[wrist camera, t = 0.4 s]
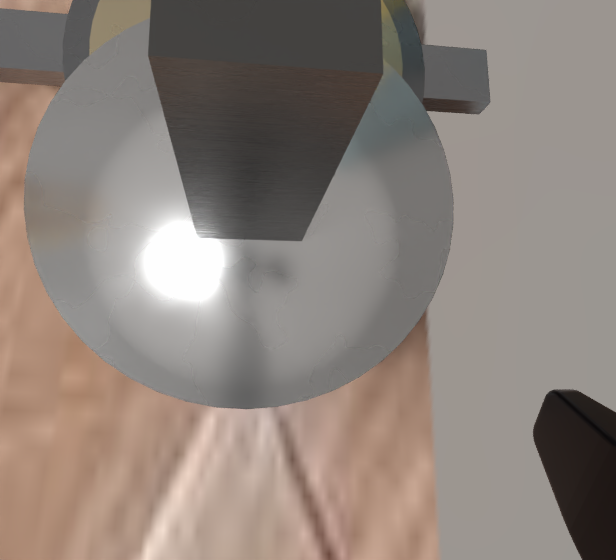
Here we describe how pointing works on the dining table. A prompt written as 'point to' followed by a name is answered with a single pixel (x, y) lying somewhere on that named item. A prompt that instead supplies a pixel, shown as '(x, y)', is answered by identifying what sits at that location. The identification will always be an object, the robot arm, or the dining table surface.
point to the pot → (136, 8)
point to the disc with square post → (240, 200)
